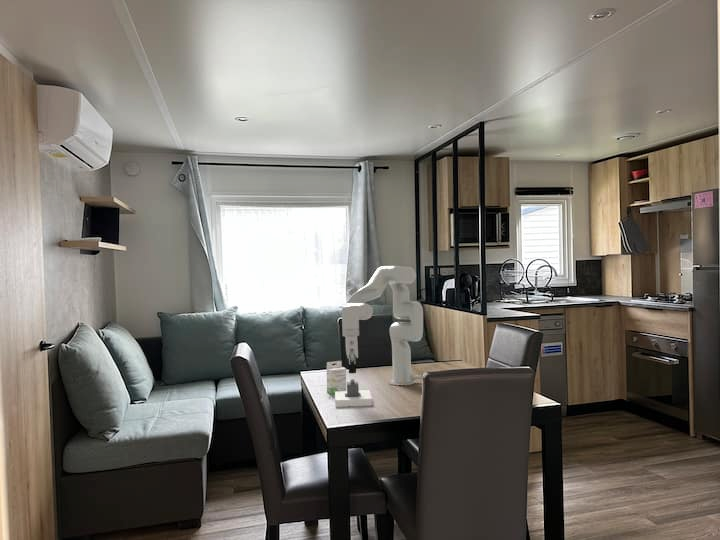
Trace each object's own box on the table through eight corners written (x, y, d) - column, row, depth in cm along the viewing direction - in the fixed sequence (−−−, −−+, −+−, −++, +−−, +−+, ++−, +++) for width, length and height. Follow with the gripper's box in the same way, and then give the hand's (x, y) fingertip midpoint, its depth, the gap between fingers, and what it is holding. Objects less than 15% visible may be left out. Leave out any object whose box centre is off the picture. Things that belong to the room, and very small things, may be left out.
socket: (369, 396, 239) (369, 389, 239) (372, 405, 223) (371, 398, 223) (335, 397, 238) (334, 391, 238) (335, 407, 222) (335, 400, 222)
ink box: (330, 394, 245) (329, 363, 245) (326, 392, 249) (325, 362, 249) (347, 392, 249) (346, 361, 249) (342, 390, 253) (341, 360, 253)
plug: (358, 399, 233) (357, 378, 233) (358, 402, 228) (358, 380, 228) (347, 399, 233) (346, 378, 233) (347, 402, 228) (347, 381, 228)
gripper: (360, 334, 222) (361, 374, 222) (358, 329, 239) (359, 367, 239) (343, 335, 221) (344, 375, 221) (342, 330, 239) (343, 367, 239)
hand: (352, 371), depth 230 cm, fingers open, 7 cm apart
